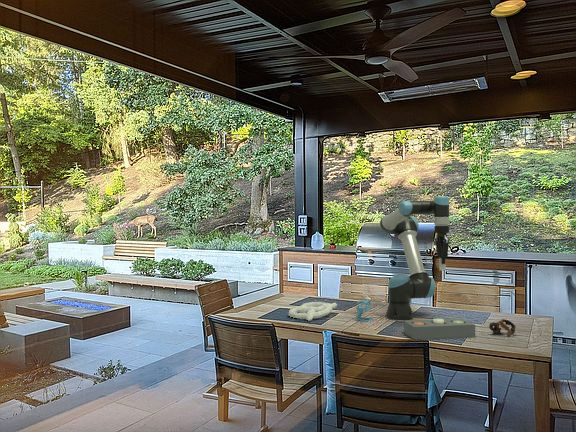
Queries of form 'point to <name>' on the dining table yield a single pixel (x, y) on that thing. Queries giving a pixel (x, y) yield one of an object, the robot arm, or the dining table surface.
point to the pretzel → (312, 310)
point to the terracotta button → (418, 323)
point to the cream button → (438, 321)
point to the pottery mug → (497, 329)
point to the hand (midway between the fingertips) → (442, 270)
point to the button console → (439, 329)
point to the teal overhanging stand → (361, 309)
